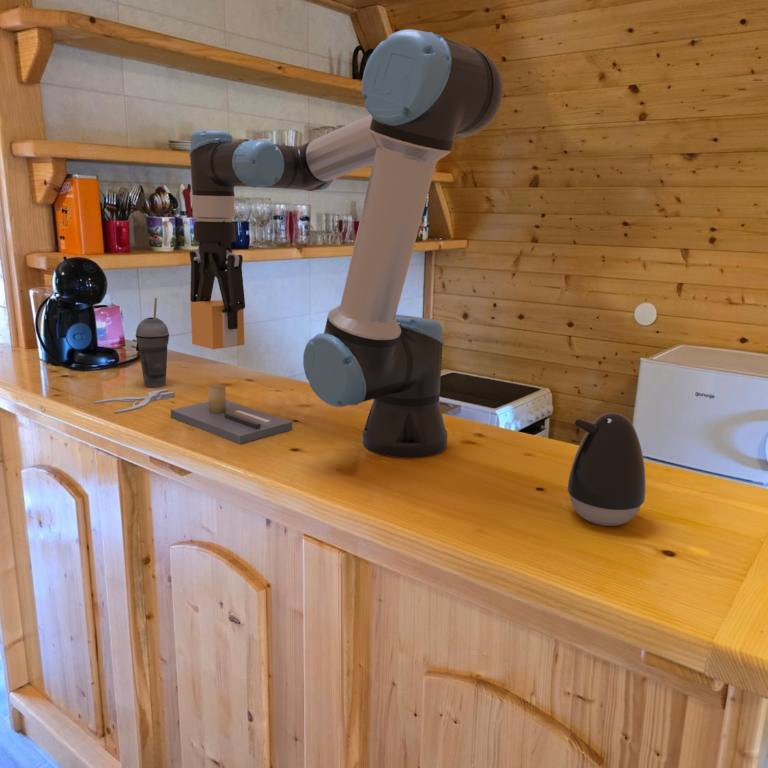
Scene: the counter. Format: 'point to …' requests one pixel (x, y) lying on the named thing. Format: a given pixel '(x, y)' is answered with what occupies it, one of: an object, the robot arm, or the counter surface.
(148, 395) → the pliers
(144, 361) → the beverage cup
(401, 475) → the counter surface
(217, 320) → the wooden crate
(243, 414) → the plate
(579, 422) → the pump dispenser
